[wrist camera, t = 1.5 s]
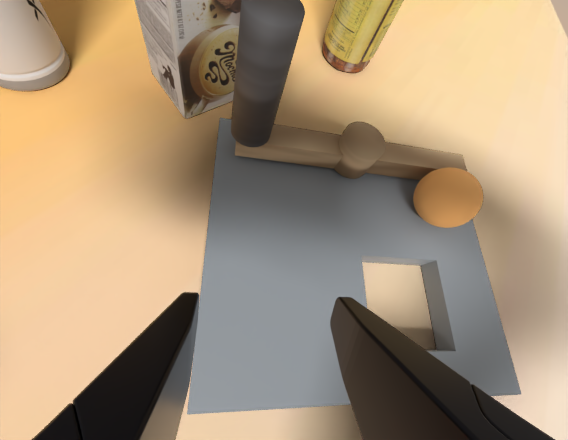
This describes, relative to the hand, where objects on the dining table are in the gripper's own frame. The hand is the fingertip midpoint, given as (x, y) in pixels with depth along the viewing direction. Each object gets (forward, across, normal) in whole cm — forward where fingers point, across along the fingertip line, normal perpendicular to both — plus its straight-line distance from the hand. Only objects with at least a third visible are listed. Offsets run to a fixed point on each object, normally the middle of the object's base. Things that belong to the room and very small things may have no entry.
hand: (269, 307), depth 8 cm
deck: (+14, -10, +6) cm, 18 cm away
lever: (+17, -9, -2) cm, 20 cm away
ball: (+13, -16, 0) cm, 21 cm away
